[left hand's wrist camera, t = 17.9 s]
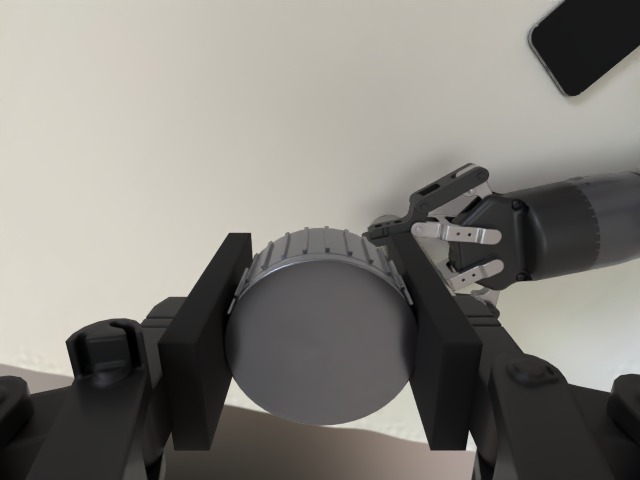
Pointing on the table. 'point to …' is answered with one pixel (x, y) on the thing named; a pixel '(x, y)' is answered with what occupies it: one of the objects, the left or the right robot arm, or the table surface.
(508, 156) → the table surface
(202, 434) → the left robot arm
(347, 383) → the lid
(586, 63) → the smartphone
